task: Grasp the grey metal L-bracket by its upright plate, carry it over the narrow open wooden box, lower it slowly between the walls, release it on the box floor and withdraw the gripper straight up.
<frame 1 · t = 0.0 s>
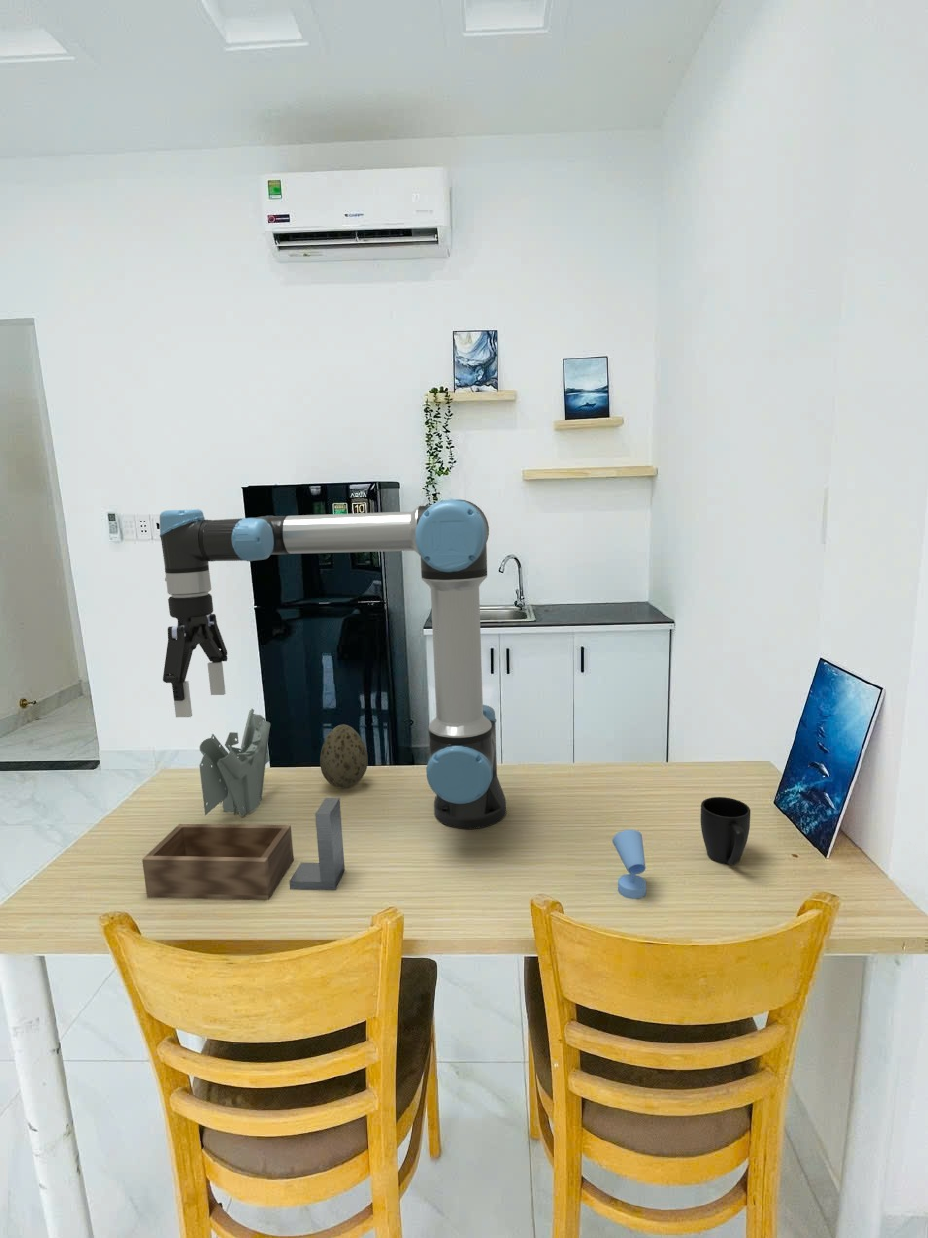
hand: (202, 705, 126), 28 cm above the table, fingers open, 13 cm apart
bracket: (243, 808, 146), on the table
decorative egg: (345, 787, 154), on the table
mug: (726, 862, 118), on the table
angle bracket: (333, 880, 116), on the table
spotlight: (631, 890, 111), on the table
open wooden box: (223, 877, 118), on the table
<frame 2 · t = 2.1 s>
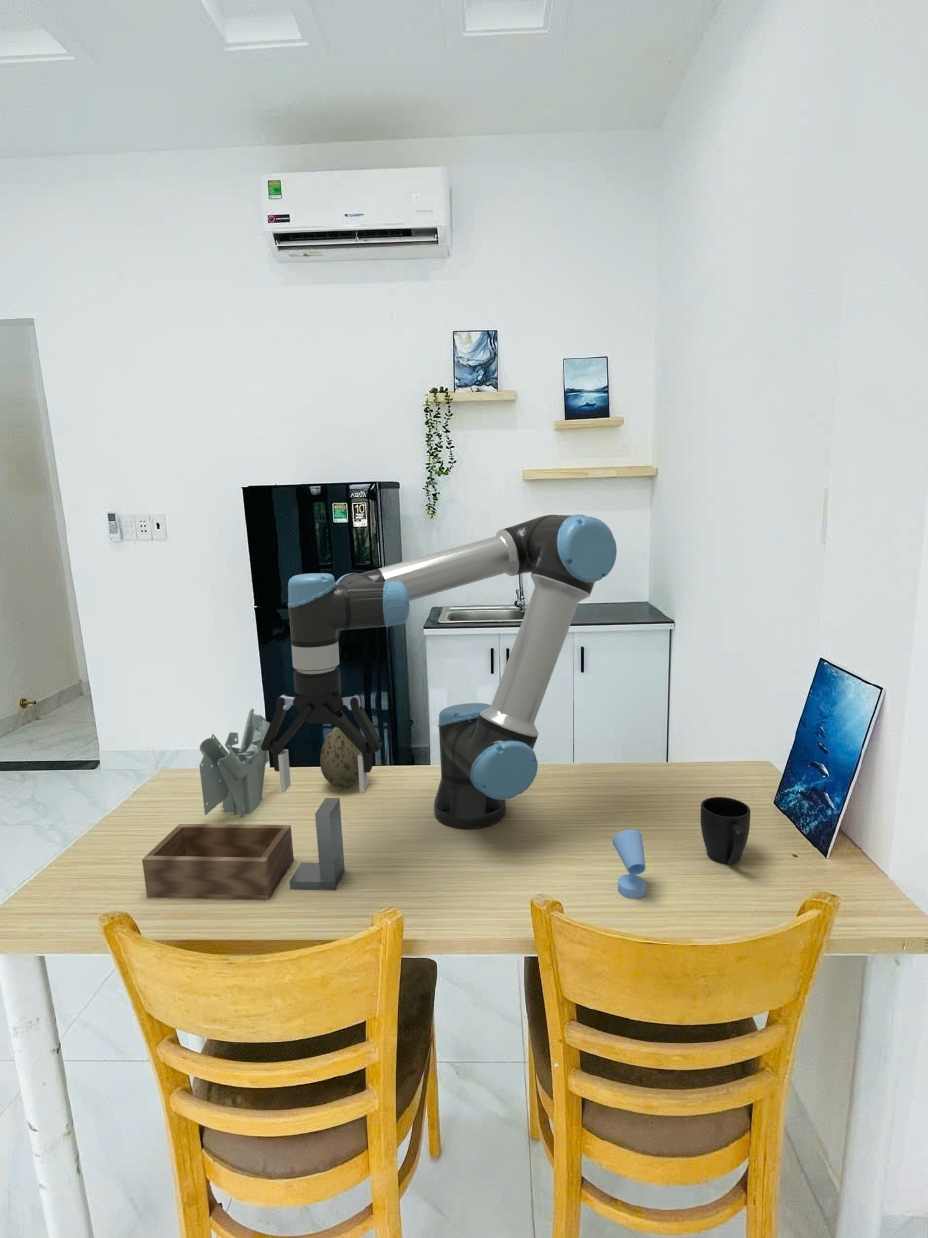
hand: (324, 789, 113), 17 cm above the table, fingers open, 13 cm apart
nothing on the table moved.
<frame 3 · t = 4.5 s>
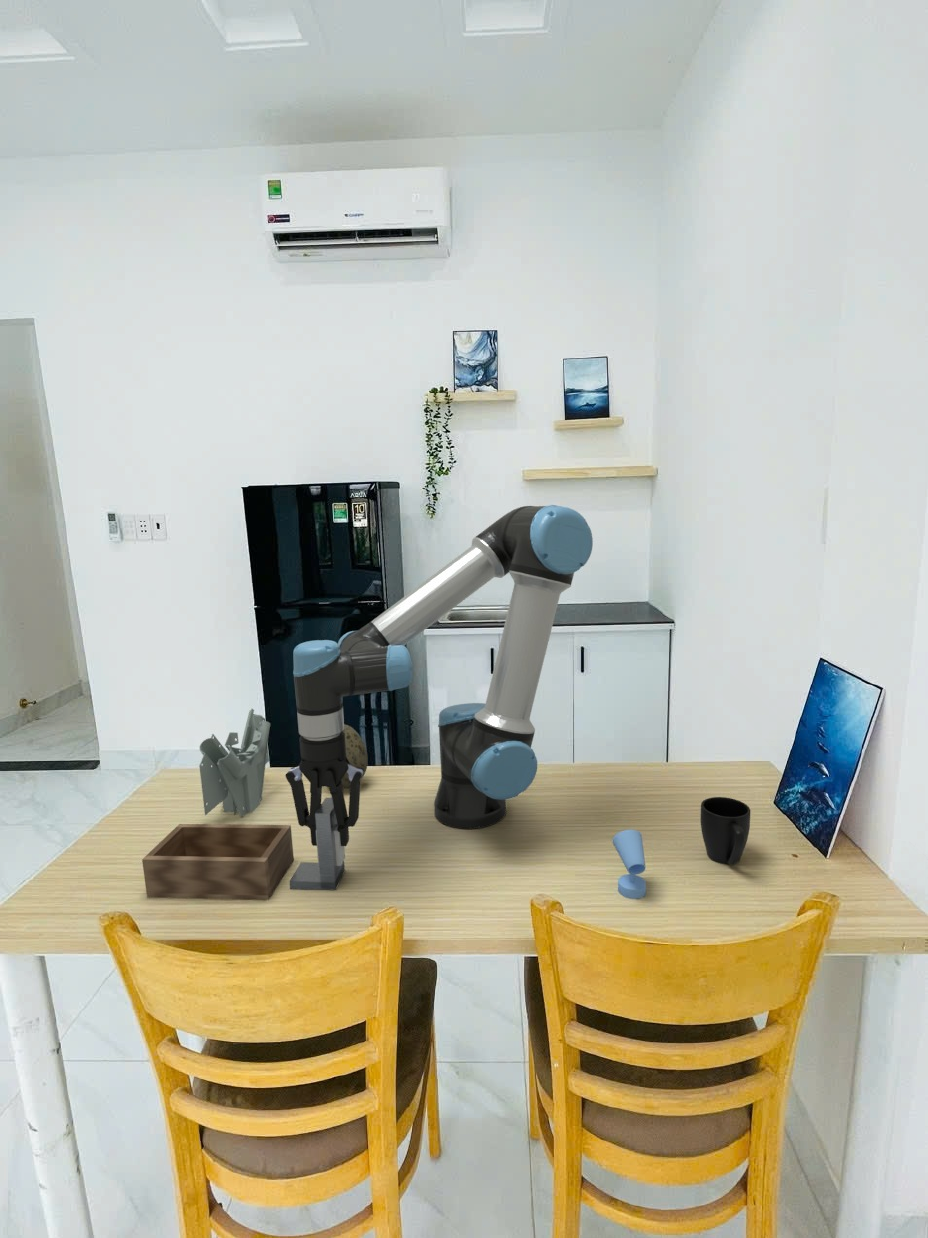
hand: (332, 861, 116), 4 cm above the table, fingers closed on angle bracket, 2 cm apart
angle bracket: (333, 879, 116), on the table, touching gripper
everything else where it was.
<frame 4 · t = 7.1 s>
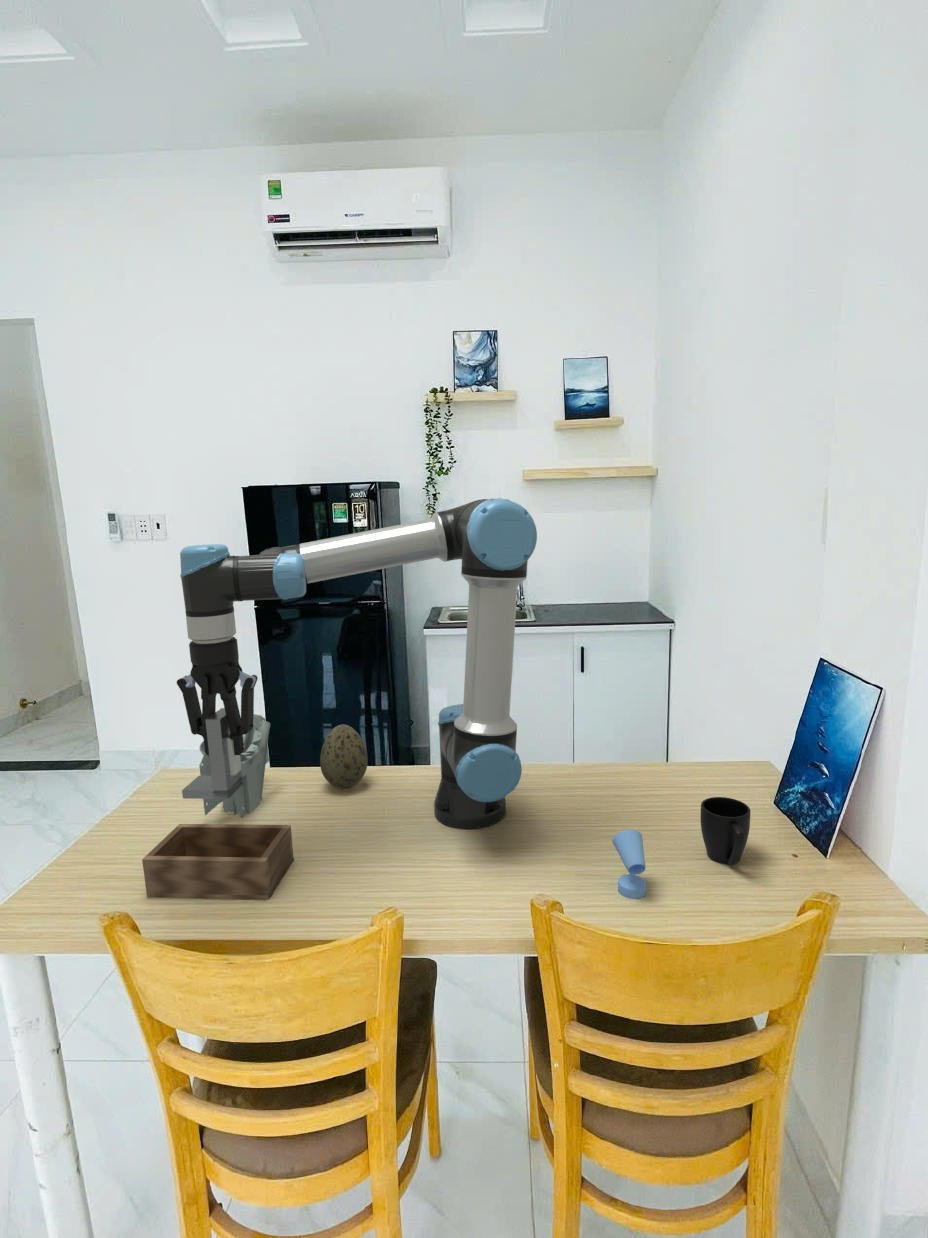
hand: (226, 771, 114), 20 cm above the table, fingers closed on angle bracket, 2 cm apart
angle bracket: (228, 791, 115), point 17 cm above the table, touching gripper
everything else where it was.
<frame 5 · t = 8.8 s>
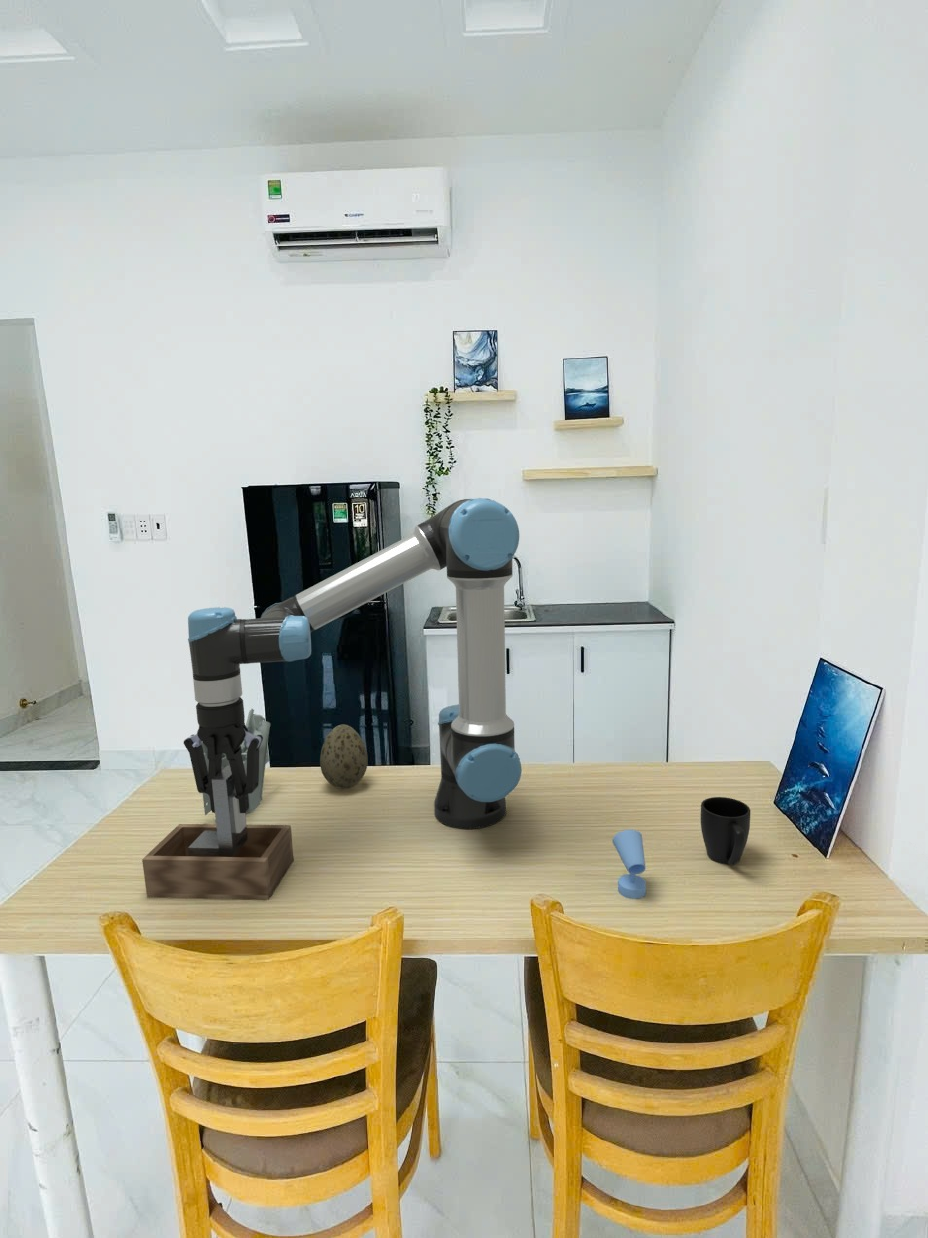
hand: (232, 828, 116), 9 cm above the table, fingers closed on angle bracket, 2 cm apart
angle bracket: (234, 847, 117), point 6 cm above the table, touching gripper
everything else where it was.
when the fingers open (6 cm above the table, at t = 10.1 s): angle bracket drops 2 cm, resting on open wooden box.
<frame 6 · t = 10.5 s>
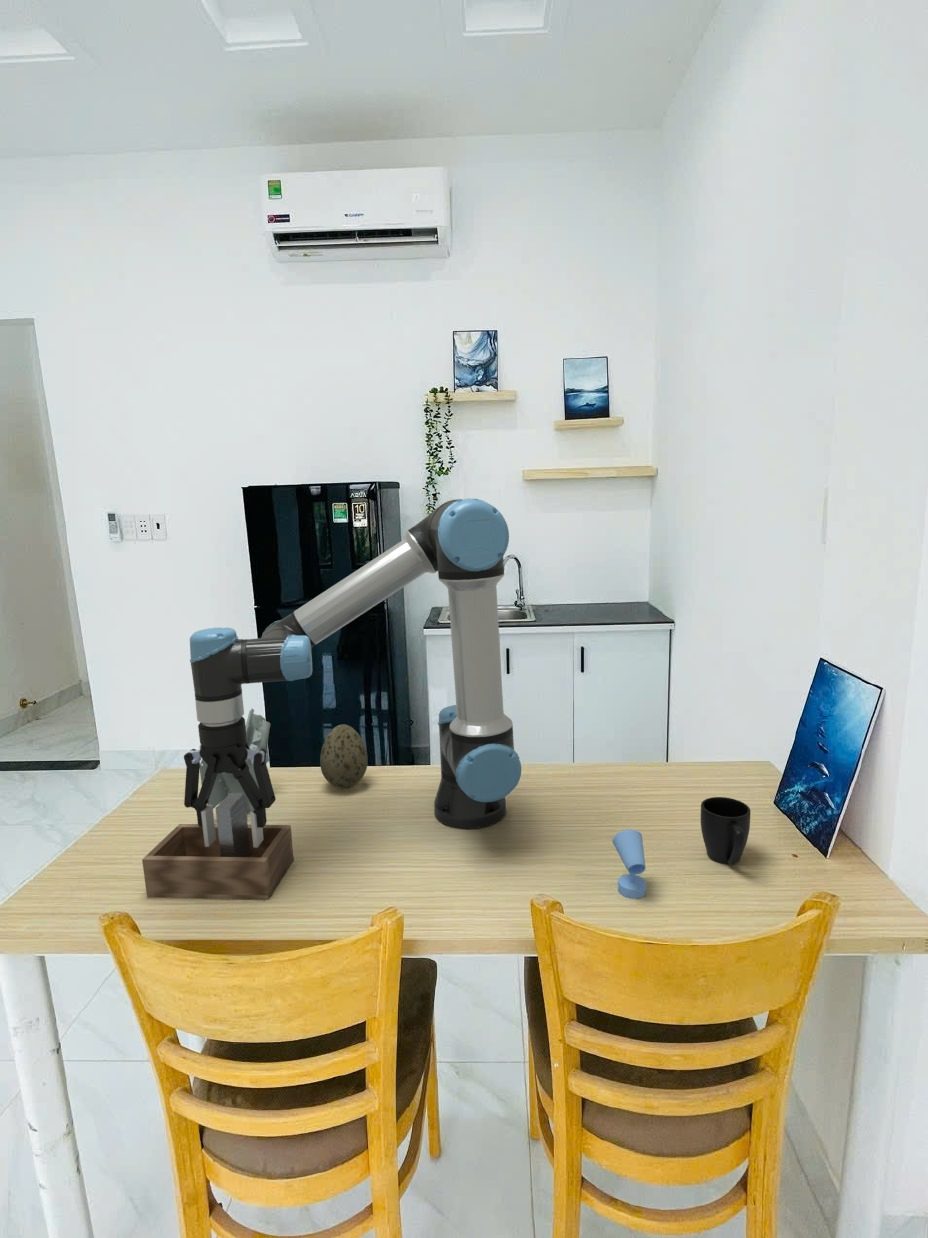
hand: (234, 842, 117), 7 cm above the table, fingers open, 8 cm apart
angle bracket: (238, 874, 118), point 1 cm above the table, touching open wooden box
everything else where it was.
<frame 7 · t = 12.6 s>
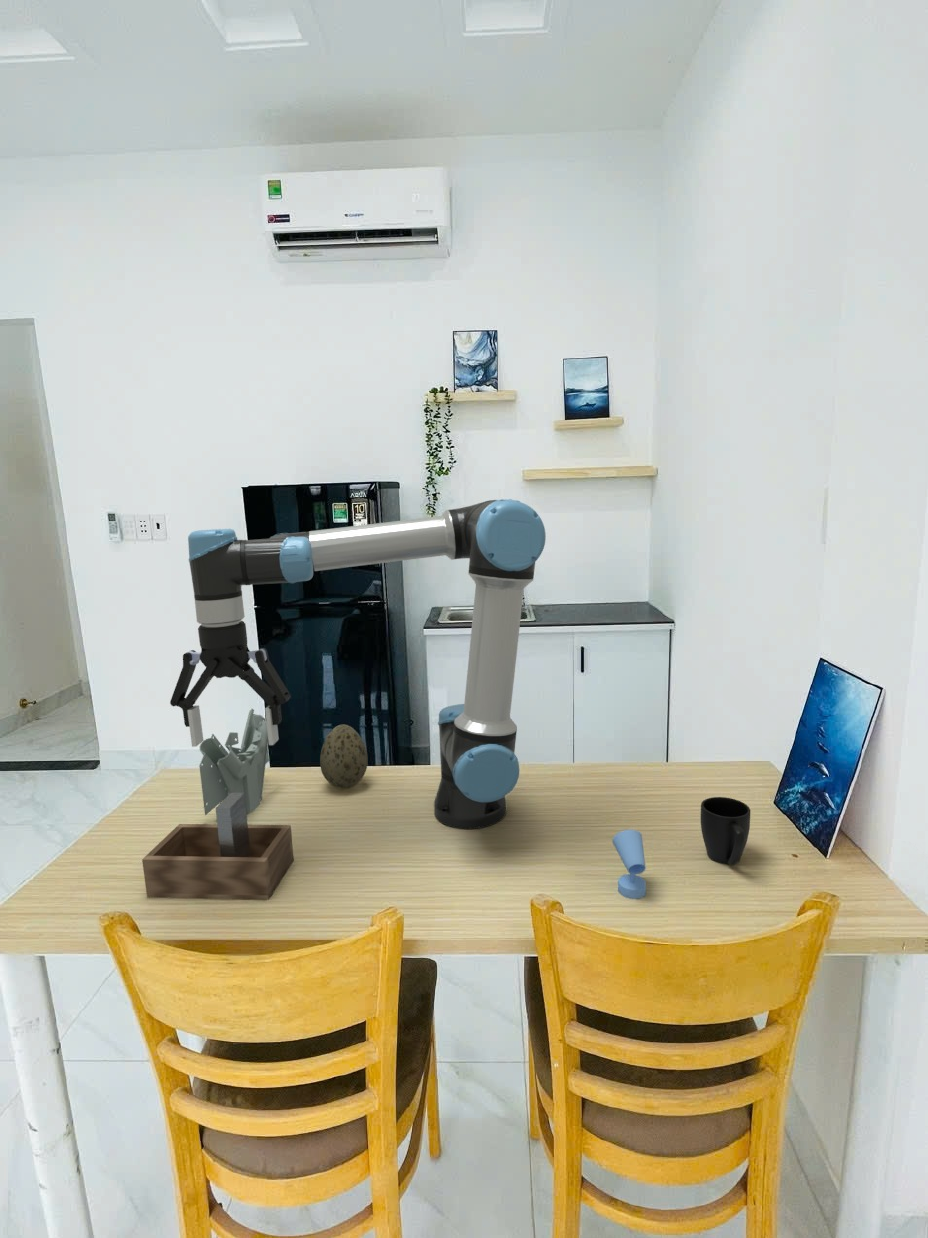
hand: (235, 743, 115), 25 cm above the table, fingers open, 13 cm apart
nothing on the table moved.
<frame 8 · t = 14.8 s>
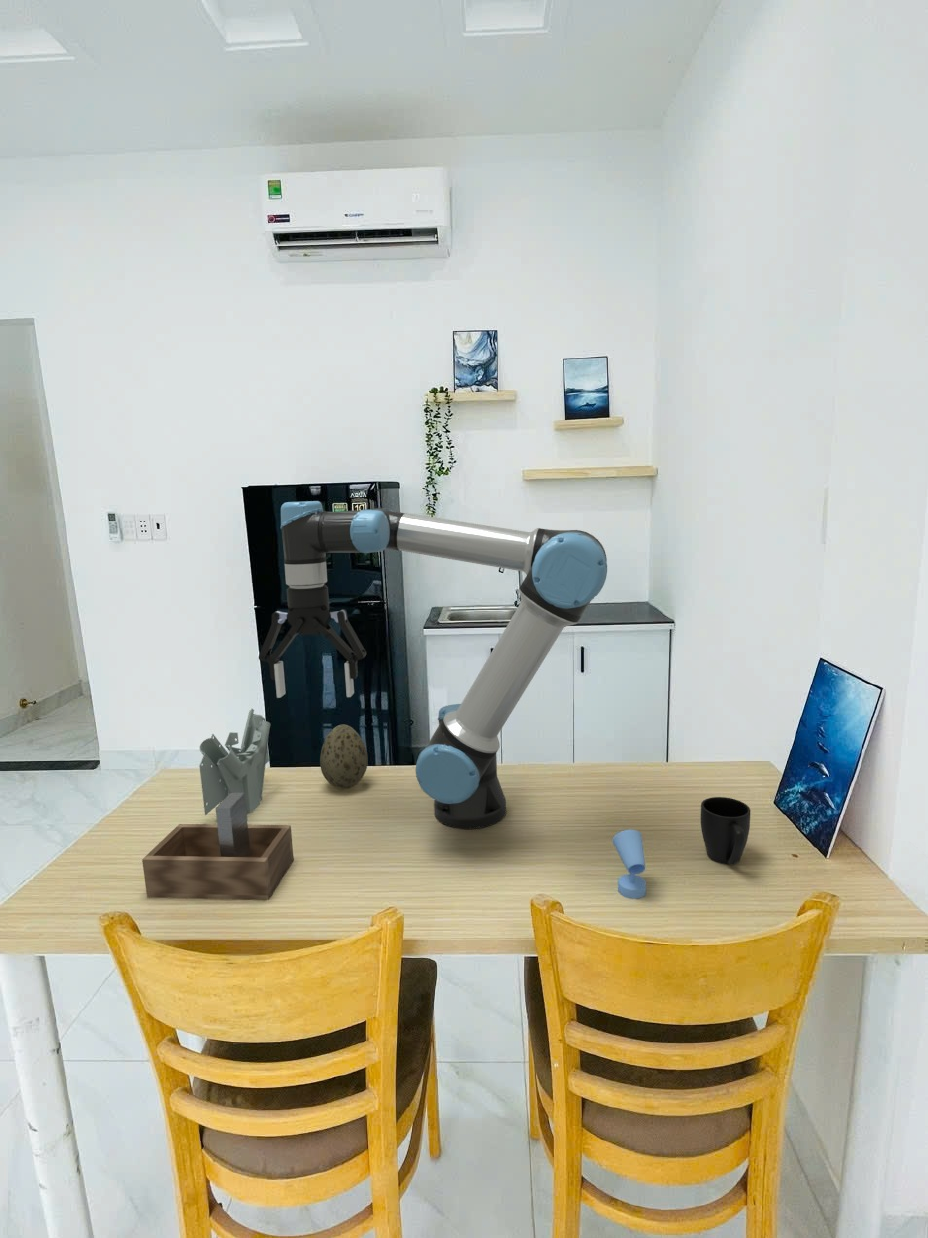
hand: (315, 695, 127), 29 cm above the table, fingers open, 13 cm apart
nothing on the table moved.
at the end: angle bracket inside the target area on the open wooden box (0.8 cm from its centre), point 0.8 cm above the open wooden box's base; angle bracket tilted 0°; the gripper is holding nothing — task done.
